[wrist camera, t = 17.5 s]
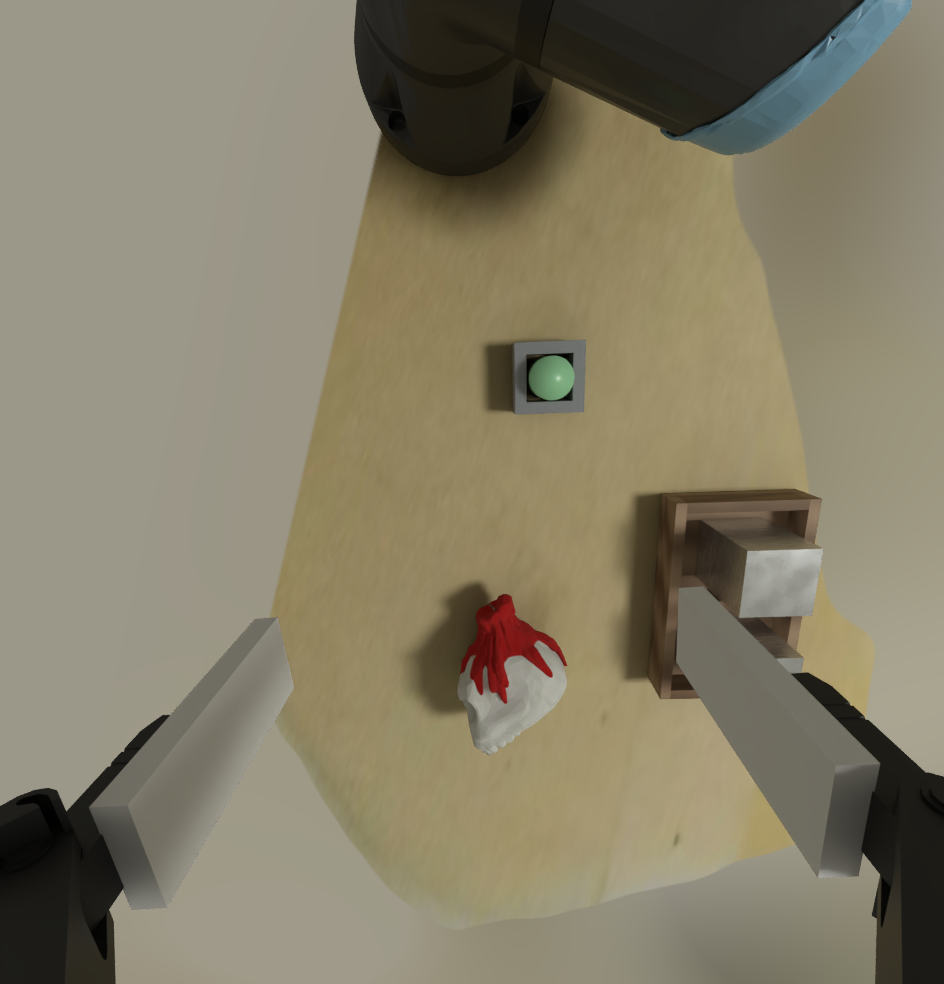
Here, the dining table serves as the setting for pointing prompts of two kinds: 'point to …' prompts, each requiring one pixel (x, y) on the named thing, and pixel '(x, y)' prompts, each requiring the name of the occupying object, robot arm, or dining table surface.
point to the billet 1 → (758, 567)
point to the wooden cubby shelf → (680, 564)
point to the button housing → (570, 347)
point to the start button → (550, 377)
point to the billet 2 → (772, 643)
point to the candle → (508, 676)
